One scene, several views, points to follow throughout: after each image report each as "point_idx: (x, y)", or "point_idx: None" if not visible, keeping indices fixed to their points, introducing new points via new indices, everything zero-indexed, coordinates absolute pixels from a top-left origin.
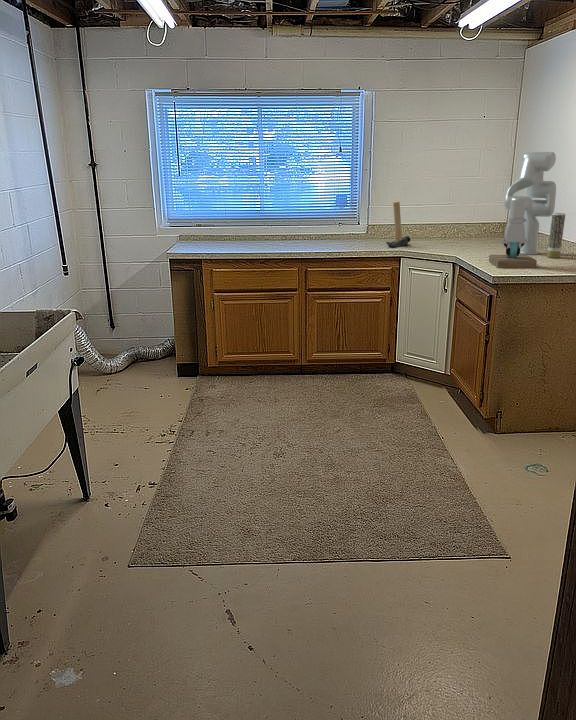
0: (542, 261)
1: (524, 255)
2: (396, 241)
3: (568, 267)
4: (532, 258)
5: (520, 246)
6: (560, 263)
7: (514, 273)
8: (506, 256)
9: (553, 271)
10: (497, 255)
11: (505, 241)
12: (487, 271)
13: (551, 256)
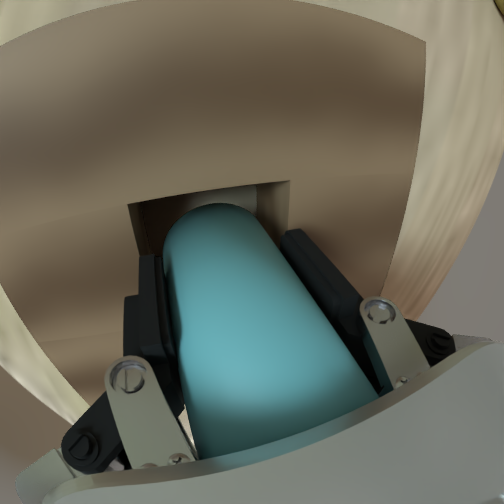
0: (459, 70)
1: (399, 102)
2: None
3: (456, 255)
4: (380, 281)
5: (365, 371)
6: (487, 152)
7: (187, 427)
8: (145, 199)
9: None
10: (22, 127)
11: (86, 484)
12: (74, 419)
13: (501, 4)
